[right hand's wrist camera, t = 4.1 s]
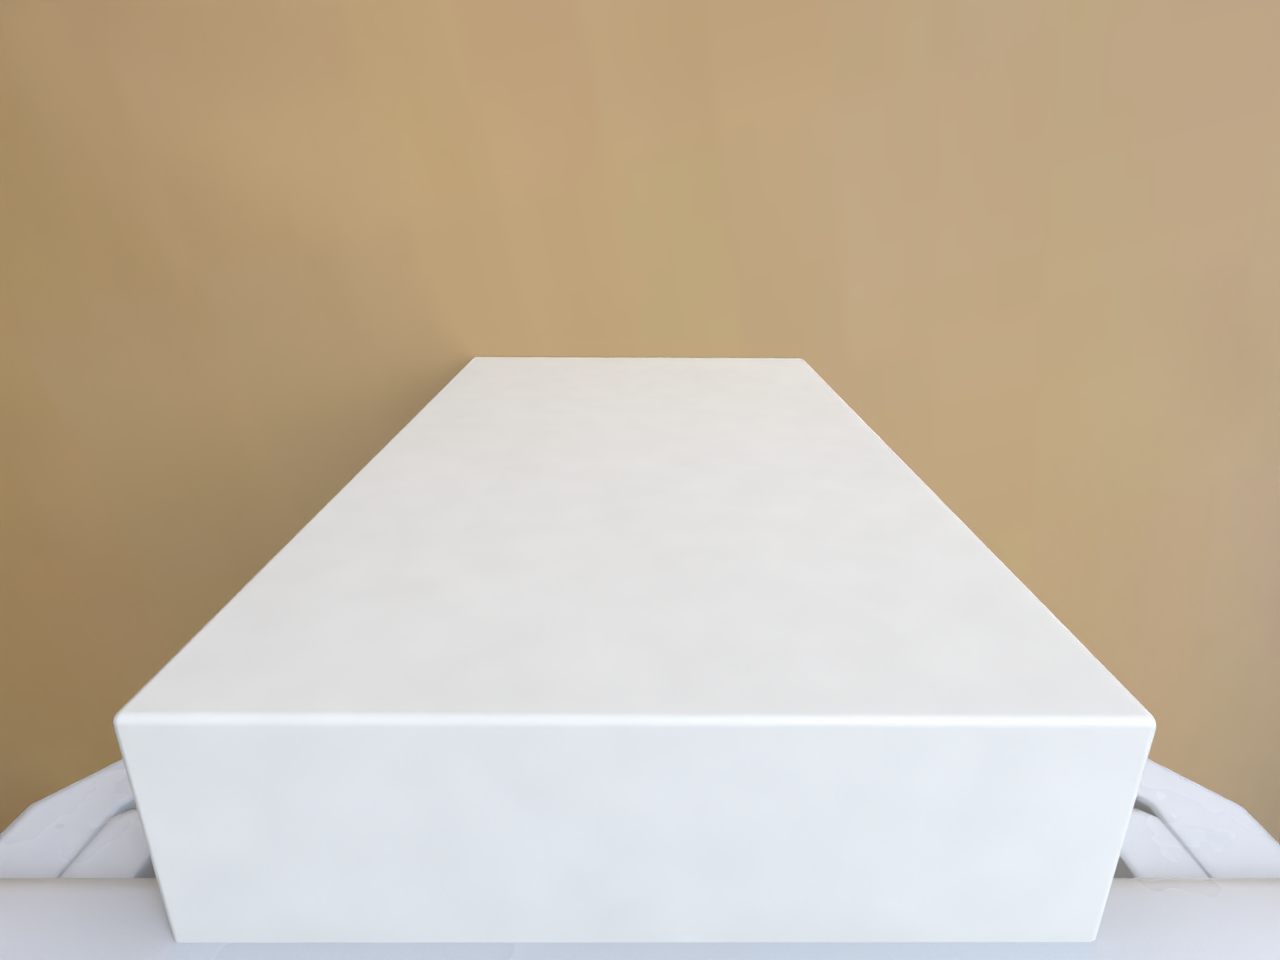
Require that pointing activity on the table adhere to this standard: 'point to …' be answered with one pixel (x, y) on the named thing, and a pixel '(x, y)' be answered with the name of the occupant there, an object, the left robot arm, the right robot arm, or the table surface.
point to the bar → (634, 691)
